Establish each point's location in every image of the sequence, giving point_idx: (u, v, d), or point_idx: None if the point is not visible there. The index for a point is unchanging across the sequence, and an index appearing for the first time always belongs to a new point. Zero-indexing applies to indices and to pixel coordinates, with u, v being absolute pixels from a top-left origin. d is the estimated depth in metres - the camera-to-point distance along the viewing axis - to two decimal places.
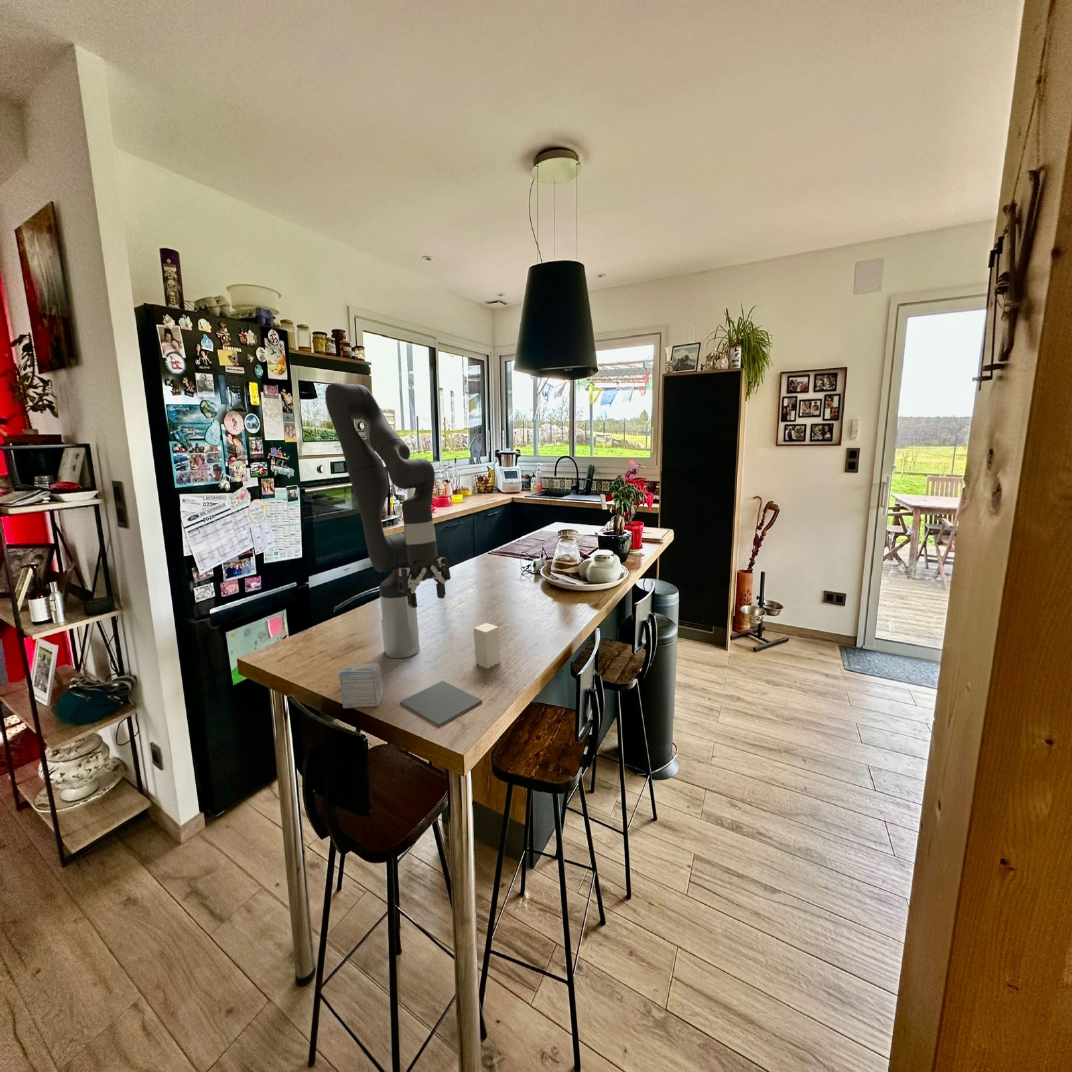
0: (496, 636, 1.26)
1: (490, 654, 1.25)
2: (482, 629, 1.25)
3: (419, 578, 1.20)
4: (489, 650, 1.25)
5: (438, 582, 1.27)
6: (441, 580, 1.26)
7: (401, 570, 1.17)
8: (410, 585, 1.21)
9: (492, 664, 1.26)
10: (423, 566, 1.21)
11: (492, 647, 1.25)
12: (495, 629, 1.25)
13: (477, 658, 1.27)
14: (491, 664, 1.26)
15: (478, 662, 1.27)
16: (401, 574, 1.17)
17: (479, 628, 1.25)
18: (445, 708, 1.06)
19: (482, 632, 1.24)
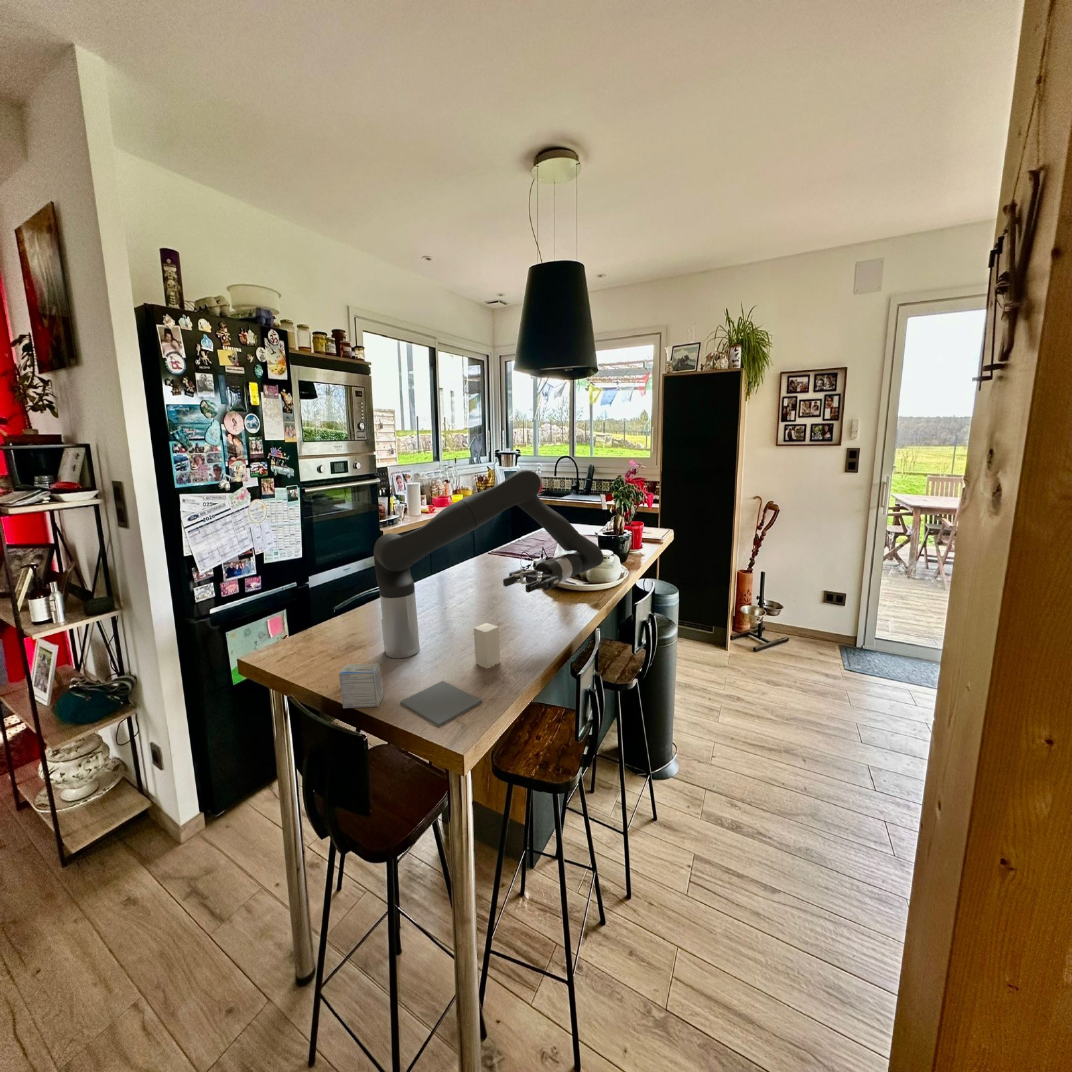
0: (496, 636, 1.26)
1: (490, 654, 1.25)
2: (482, 629, 1.25)
3: None
4: (489, 650, 1.25)
5: (515, 578, 1.38)
6: None
7: (558, 582, 1.35)
8: None
9: (492, 664, 1.26)
10: None
11: (492, 647, 1.25)
12: (495, 629, 1.25)
13: (477, 658, 1.27)
14: (491, 664, 1.26)
15: (478, 662, 1.27)
16: (556, 583, 1.34)
17: (479, 628, 1.25)
18: (445, 708, 1.06)
19: (482, 632, 1.24)
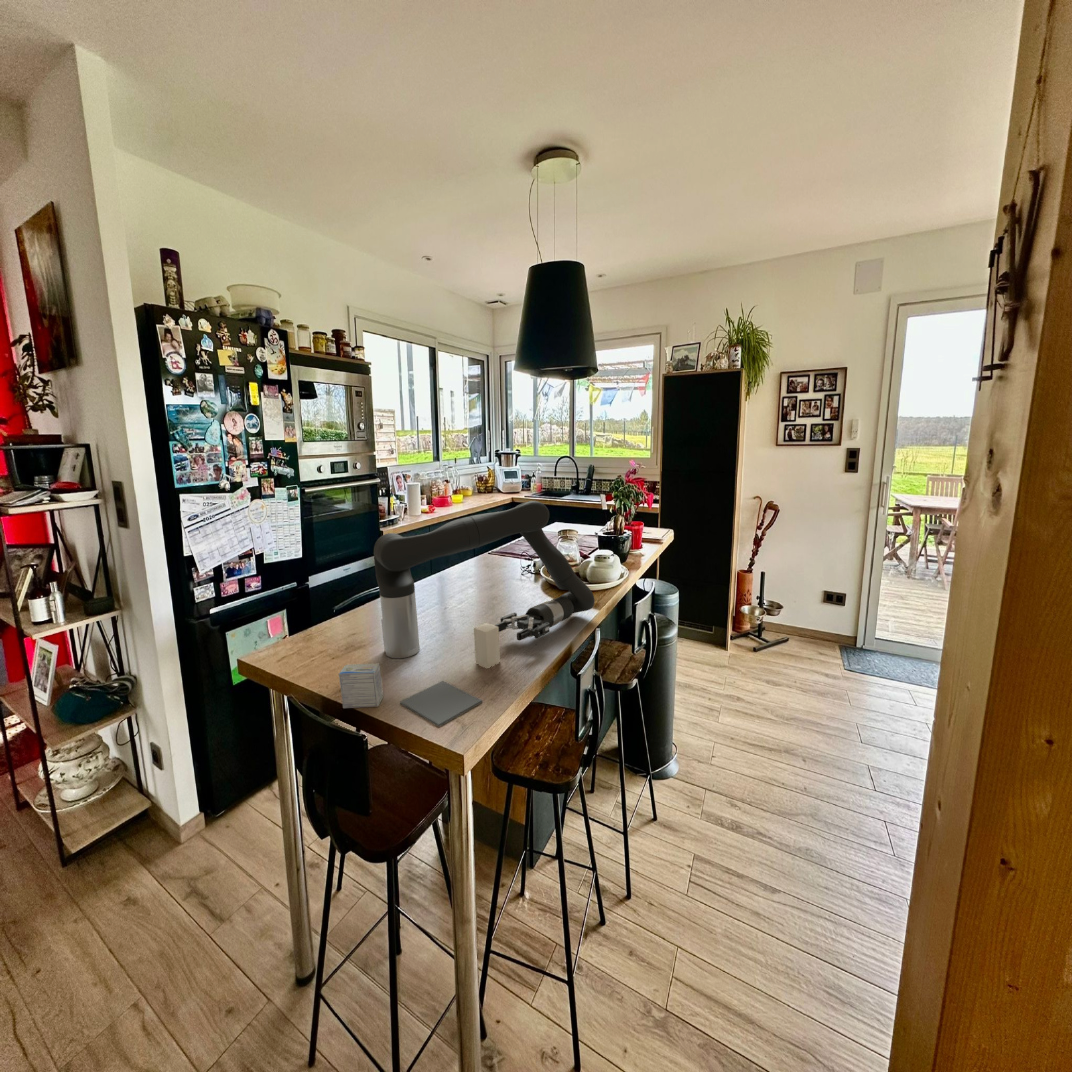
0: (496, 636, 1.26)
1: (490, 654, 1.25)
2: (482, 629, 1.25)
3: None
4: (489, 650, 1.25)
5: (506, 624, 1.38)
6: None
7: None
8: None
9: (492, 664, 1.26)
10: None
11: (492, 647, 1.25)
12: (495, 629, 1.25)
13: (477, 658, 1.27)
14: (491, 664, 1.26)
15: (478, 662, 1.27)
16: (547, 630, 1.34)
17: (479, 628, 1.25)
18: (445, 708, 1.06)
19: (482, 632, 1.24)
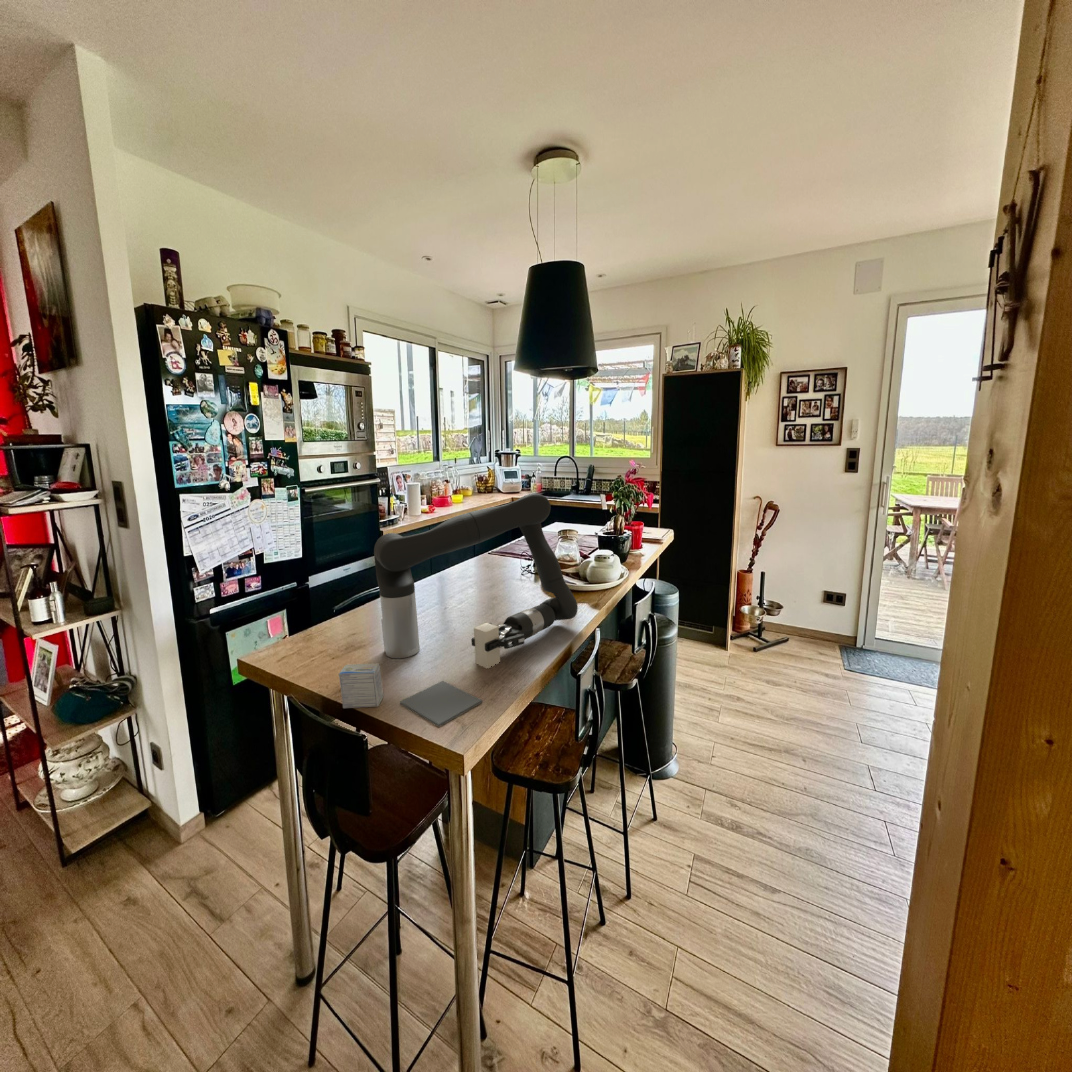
0: (496, 636, 1.26)
1: (490, 654, 1.25)
2: (482, 628, 1.25)
3: None
4: None
5: None
6: None
7: (523, 641, 1.28)
8: None
9: (492, 664, 1.26)
10: None
11: None
12: (495, 629, 1.25)
13: (477, 658, 1.27)
14: (491, 664, 1.26)
15: (478, 662, 1.27)
16: (520, 642, 1.27)
17: (478, 628, 1.25)
18: (445, 708, 1.06)
19: (482, 632, 1.24)
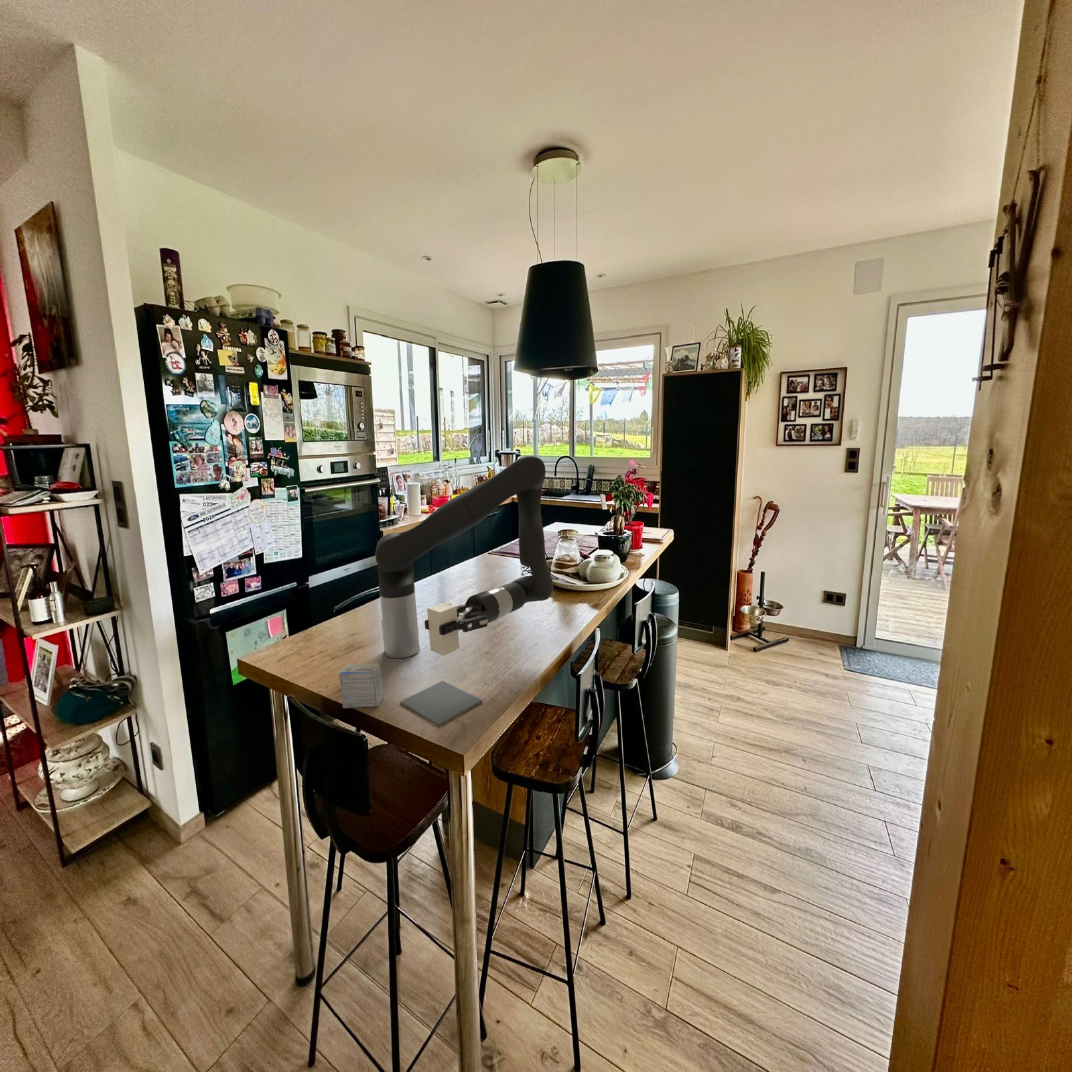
0: (453, 617, 1.07)
1: (446, 638, 1.06)
2: (436, 608, 1.06)
3: None
4: None
5: None
6: None
7: (486, 623, 1.09)
8: None
9: (449, 650, 1.07)
10: None
11: None
12: (452, 609, 1.07)
13: (432, 643, 1.08)
14: (448, 650, 1.07)
15: (433, 648, 1.08)
16: (482, 624, 1.08)
17: (433, 608, 1.07)
18: (445, 708, 1.06)
19: (436, 612, 1.05)
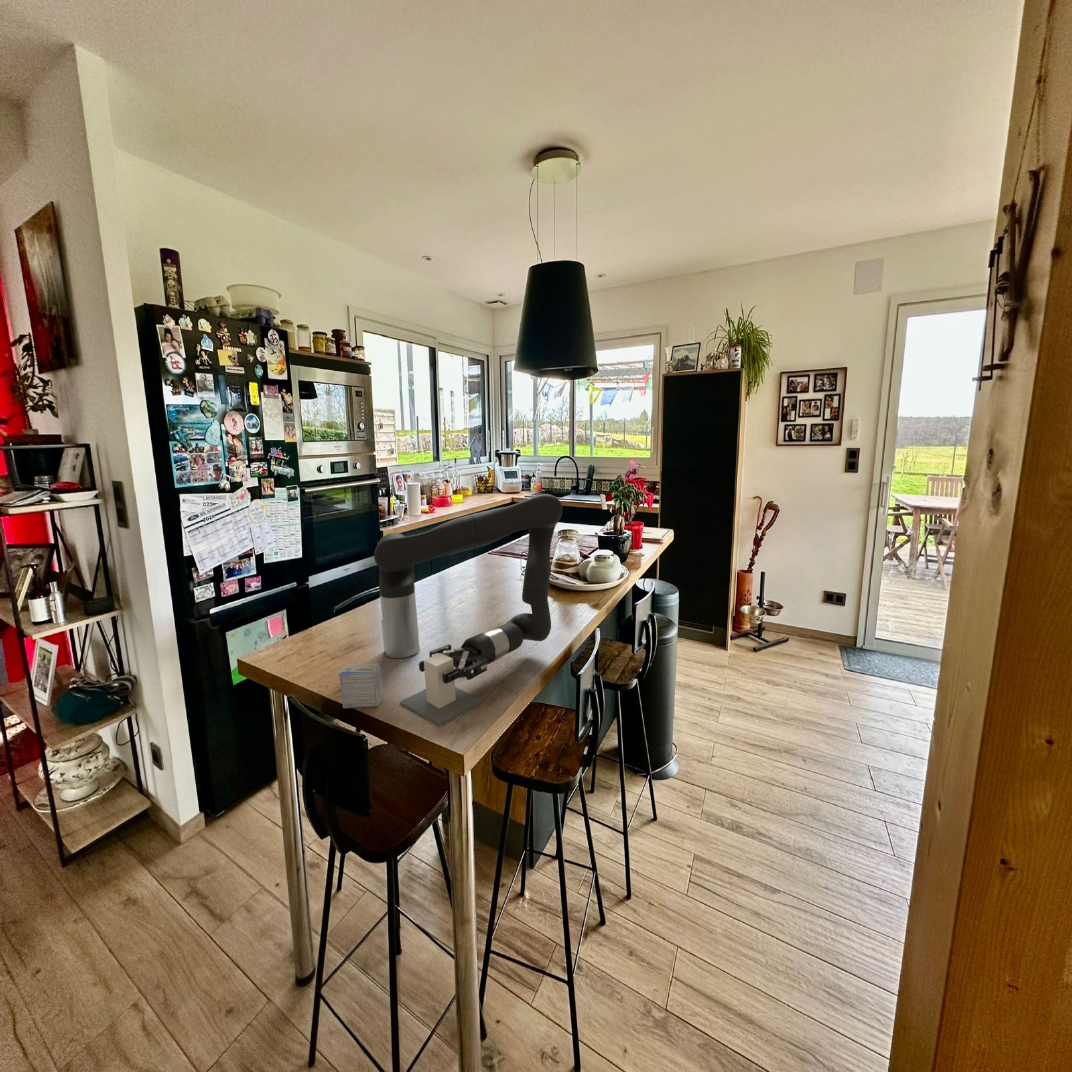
0: None
1: (443, 691, 1.06)
2: (433, 661, 1.06)
3: None
4: (442, 686, 1.06)
5: None
6: None
7: (486, 667, 1.09)
8: None
9: (445, 702, 1.07)
10: None
11: None
12: (449, 661, 1.07)
13: (428, 695, 1.08)
14: (444, 702, 1.07)
15: (430, 699, 1.08)
16: (483, 669, 1.09)
17: (429, 660, 1.07)
18: (445, 708, 1.06)
19: (433, 666, 1.05)
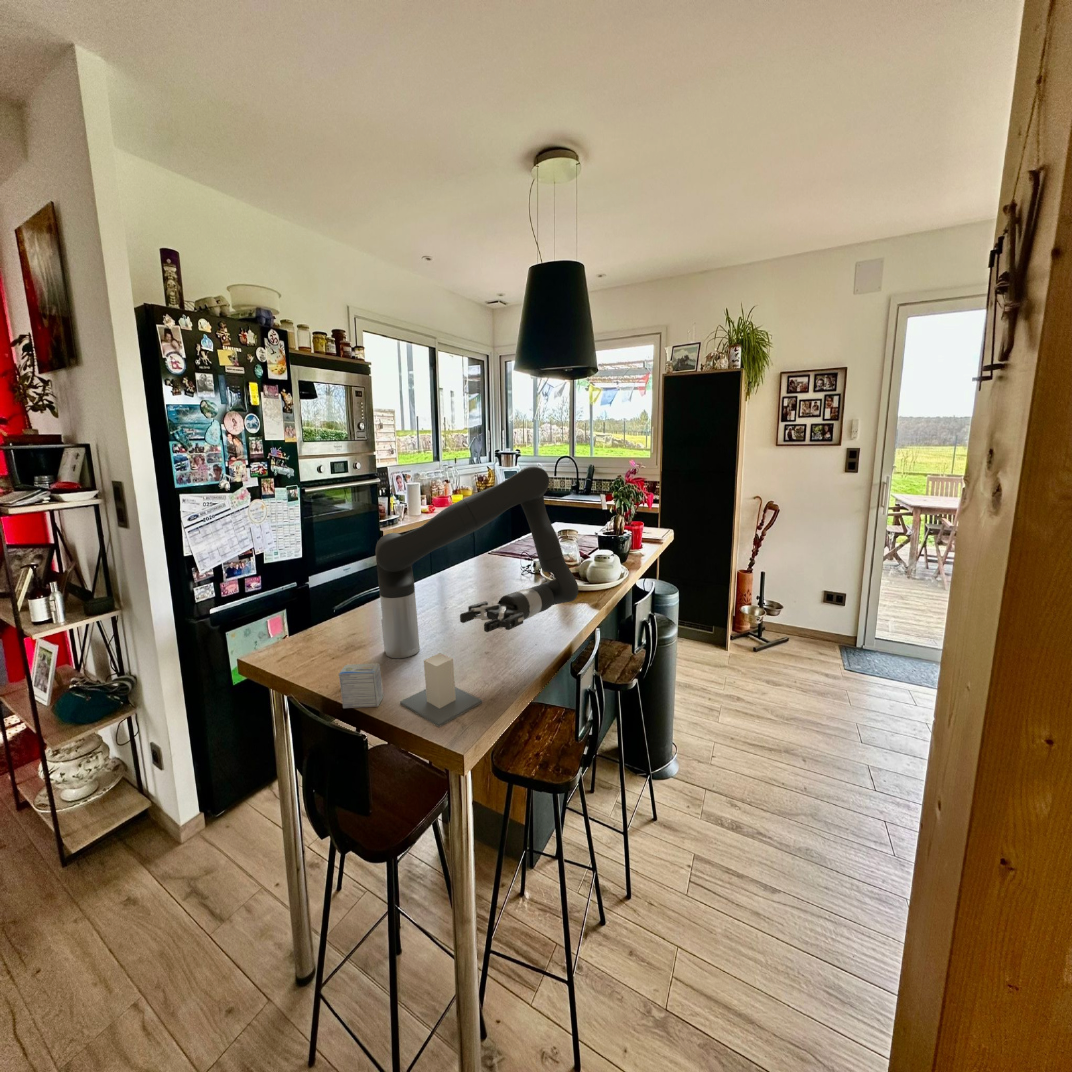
0: (450, 670, 1.07)
1: (443, 691, 1.06)
2: (433, 661, 1.06)
3: None
4: (442, 686, 1.06)
5: (474, 613, 1.20)
6: None
7: None
8: None
9: (445, 702, 1.07)
10: None
11: (445, 683, 1.07)
12: (449, 661, 1.07)
13: (428, 695, 1.08)
14: (444, 702, 1.07)
15: (430, 699, 1.08)
16: (520, 621, 1.16)
17: (429, 660, 1.07)
18: (445, 708, 1.06)
19: (433, 666, 1.05)
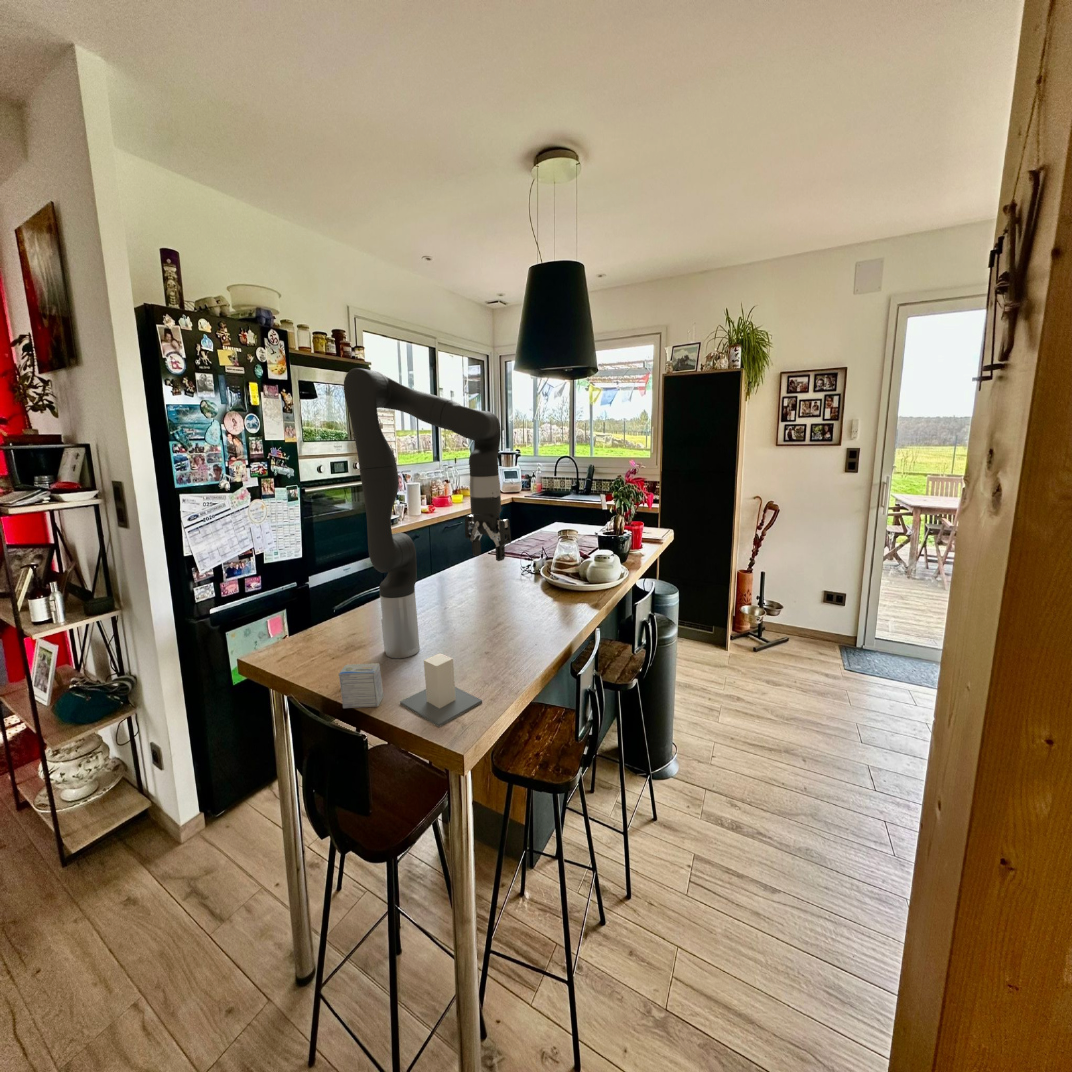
0: (450, 670, 1.07)
1: (443, 691, 1.06)
2: (433, 661, 1.06)
3: None
4: (442, 686, 1.06)
5: (476, 539, 1.25)
6: None
7: (507, 521, 1.18)
8: None
9: (445, 702, 1.07)
10: None
11: (445, 683, 1.07)
12: (449, 661, 1.07)
13: (428, 695, 1.08)
14: (444, 702, 1.07)
15: (430, 699, 1.08)
16: (507, 525, 1.18)
17: (429, 660, 1.07)
18: (445, 708, 1.06)
19: (433, 666, 1.05)
